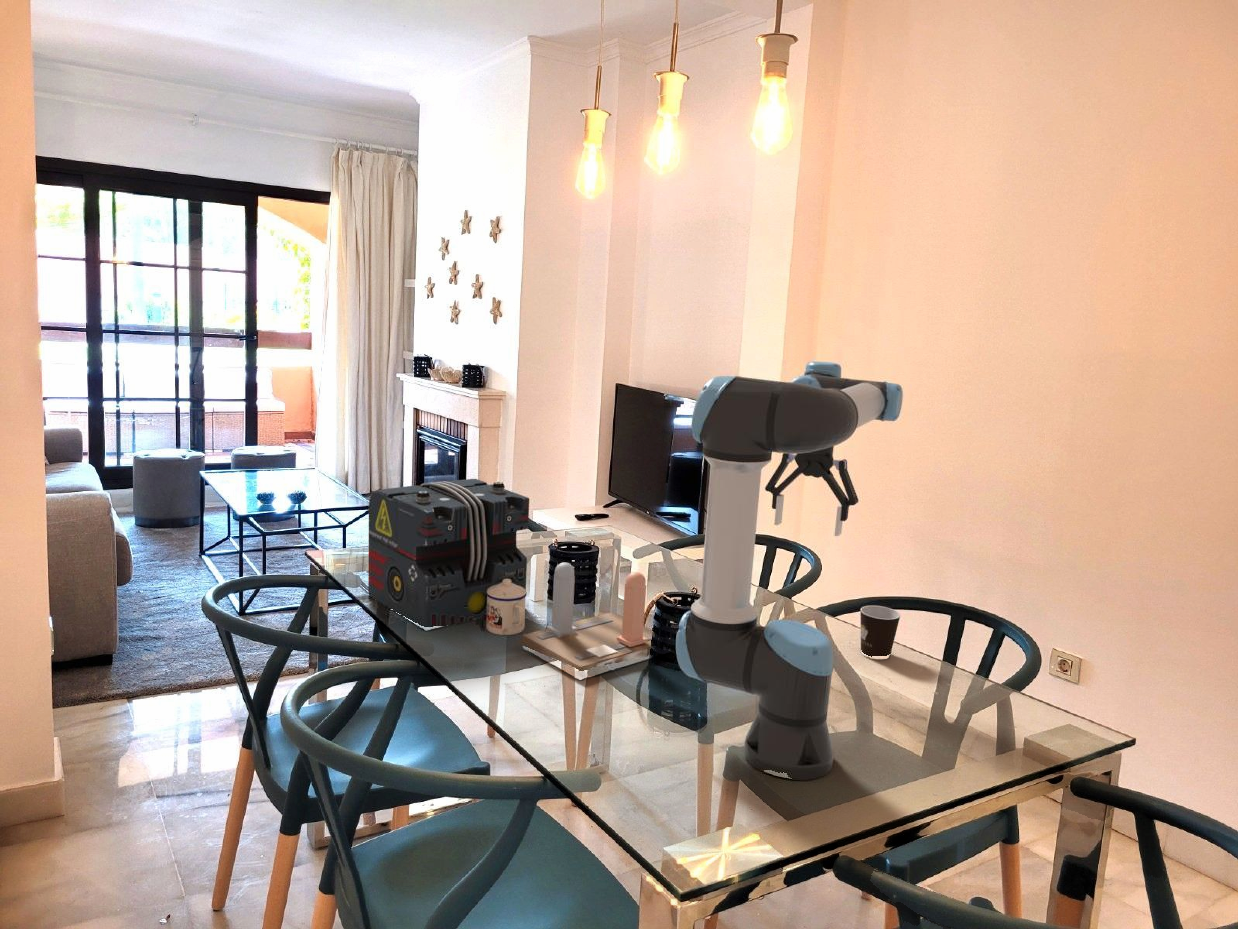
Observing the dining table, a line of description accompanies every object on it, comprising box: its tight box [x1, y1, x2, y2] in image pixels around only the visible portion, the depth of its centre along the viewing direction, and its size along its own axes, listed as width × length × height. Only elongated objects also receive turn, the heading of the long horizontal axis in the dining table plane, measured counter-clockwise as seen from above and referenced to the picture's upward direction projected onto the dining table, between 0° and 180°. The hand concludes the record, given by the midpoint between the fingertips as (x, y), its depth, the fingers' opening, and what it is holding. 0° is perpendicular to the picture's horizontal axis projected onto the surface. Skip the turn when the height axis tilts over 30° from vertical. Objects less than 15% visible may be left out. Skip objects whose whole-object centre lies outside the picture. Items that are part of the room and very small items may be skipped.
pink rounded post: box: [617, 571, 648, 647], centre depth 198 cm, size 5×4×16 cm
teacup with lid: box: [485, 579, 527, 636], centre depth 210 cm, size 12×9×12 cm
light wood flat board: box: [521, 611, 653, 671], centre depth 202 cm, size 26×20×3 cm
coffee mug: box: [859, 605, 901, 657], centre depth 210 cm, size 12×9×10 cm
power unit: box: [367, 478, 530, 627], centre depth 223 cm, size 28×28×30 cm
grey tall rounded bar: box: [546, 561, 577, 636], centre depth 202 cm, size 5×4×16 cm
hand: (807, 529), depth 204 cm, fingers open, 13 cm apart
